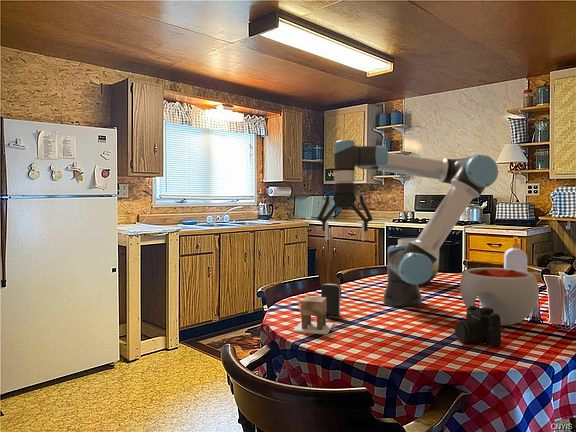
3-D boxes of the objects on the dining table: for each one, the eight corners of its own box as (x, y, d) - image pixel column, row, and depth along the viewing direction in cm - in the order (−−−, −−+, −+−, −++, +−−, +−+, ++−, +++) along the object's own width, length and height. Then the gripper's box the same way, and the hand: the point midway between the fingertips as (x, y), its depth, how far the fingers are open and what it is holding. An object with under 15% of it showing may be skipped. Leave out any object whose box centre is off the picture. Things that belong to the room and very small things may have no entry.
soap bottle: (524, 284, 219) (524, 236, 218) (527, 287, 212) (527, 238, 211) (503, 283, 221) (503, 236, 220) (505, 286, 215) (506, 237, 214)
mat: (333, 324, 153) (333, 323, 153) (327, 334, 143) (327, 332, 143) (301, 322, 156) (301, 320, 156) (293, 331, 146) (293, 329, 146)
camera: (445, 334, 141) (445, 302, 141) (478, 333, 143) (478, 301, 142) (469, 349, 127) (469, 314, 127) (505, 347, 129) (505, 312, 129)
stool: (326, 324, 152) (326, 297, 152) (322, 330, 145) (322, 302, 145) (306, 322, 154) (305, 296, 154) (300, 328, 147) (300, 300, 147)
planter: (406, 278, 239) (406, 237, 238) (444, 282, 227) (444, 239, 226) (391, 284, 223) (391, 240, 222) (431, 288, 211) (431, 242, 211)
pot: (555, 331, 143) (555, 274, 143) (481, 334, 142) (481, 276, 141) (511, 312, 167) (512, 263, 167) (448, 314, 165) (448, 265, 165)
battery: (342, 314, 166) (342, 283, 166) (339, 317, 163) (339, 285, 162) (324, 312, 169) (324, 282, 169) (320, 315, 166) (320, 283, 165)
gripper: (379, 182, 169) (379, 239, 170) (313, 183, 176) (314, 238, 177) (378, 181, 162) (378, 241, 163) (309, 183, 169) (309, 240, 170)
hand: (344, 240), depth 170 cm, fingers open, 13 cm apart
